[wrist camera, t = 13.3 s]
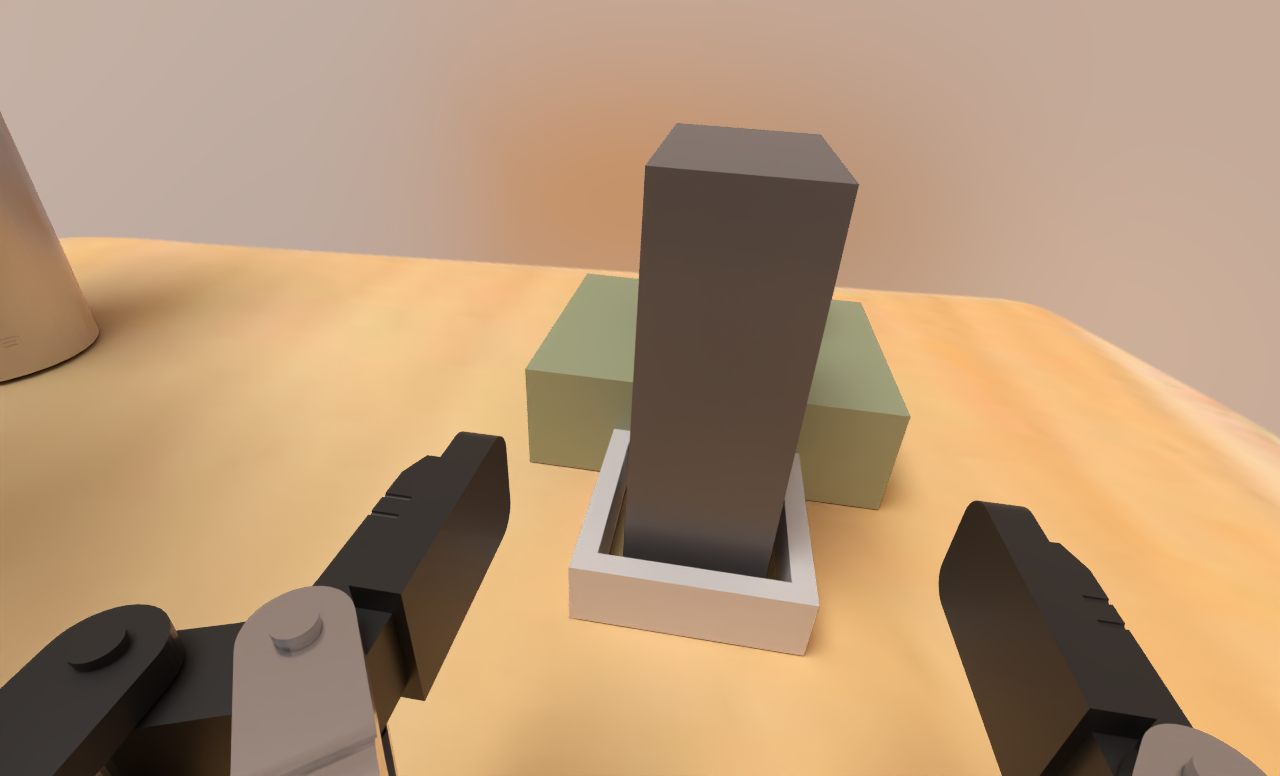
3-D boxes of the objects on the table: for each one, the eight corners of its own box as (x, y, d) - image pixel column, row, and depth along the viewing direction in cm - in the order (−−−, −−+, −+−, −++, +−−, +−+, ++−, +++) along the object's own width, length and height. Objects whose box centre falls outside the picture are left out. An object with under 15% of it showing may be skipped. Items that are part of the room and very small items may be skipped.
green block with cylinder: (586, 348, 38) (588, 169, 33) (840, 378, 37) (889, 195, 31) (461, 599, 21) (419, 316, 16) (925, 675, 20) (1065, 392, 14)
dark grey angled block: (757, 612, 22) (858, 184, 14) (621, 591, 22) (645, 165, 14) (753, 473, 28) (820, 134, 21) (649, 459, 29) (676, 122, 21)
